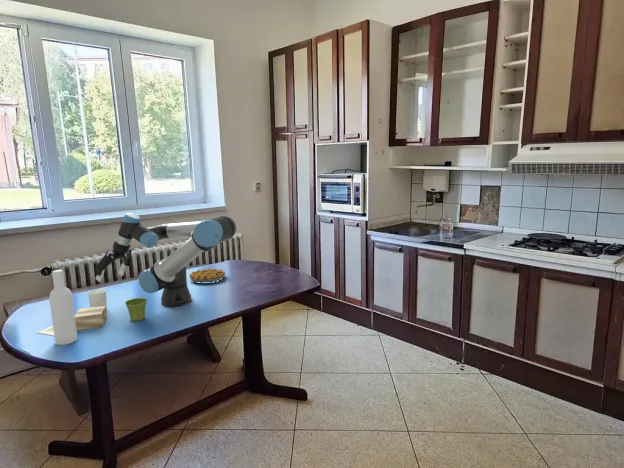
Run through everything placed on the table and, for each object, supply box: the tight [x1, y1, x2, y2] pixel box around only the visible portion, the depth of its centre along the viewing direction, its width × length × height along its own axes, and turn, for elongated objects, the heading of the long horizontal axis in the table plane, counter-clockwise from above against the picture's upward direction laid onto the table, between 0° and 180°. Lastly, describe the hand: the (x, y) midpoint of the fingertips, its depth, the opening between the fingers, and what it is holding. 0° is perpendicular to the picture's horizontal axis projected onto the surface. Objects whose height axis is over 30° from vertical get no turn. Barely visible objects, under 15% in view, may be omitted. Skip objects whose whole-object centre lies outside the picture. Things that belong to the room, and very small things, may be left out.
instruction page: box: [36, 325, 54, 337], centre depth 171 cm, size 12×9×1 cm
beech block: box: [74, 306, 108, 331], centre depth 178 cm, size 11×11×6 cm
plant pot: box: [124, 297, 148, 322], centre depth 183 cm, size 9×9×9 cm
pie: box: [188, 268, 226, 283], centre depth 244 cm, size 22×22×5 cm
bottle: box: [48, 269, 78, 346], centre depth 159 cm, size 8×8×30 cm
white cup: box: [87, 288, 108, 311], centre depth 193 cm, size 8×8×10 cm
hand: (109, 277), depth 199 cm, fingers open, 13 cm apart
